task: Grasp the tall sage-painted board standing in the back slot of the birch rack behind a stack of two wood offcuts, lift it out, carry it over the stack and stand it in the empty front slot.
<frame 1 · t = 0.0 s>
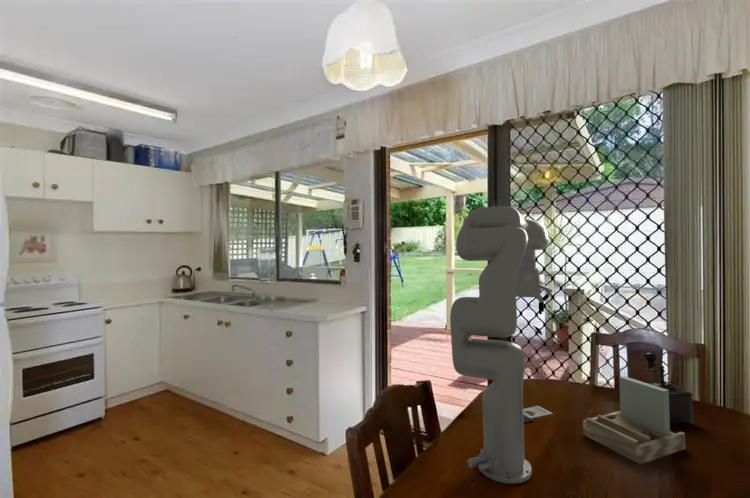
hand: (525, 312, 133), 31 cm above the table, tool pointing down, fingers open, 9 cm apart
chocolate bar: (523, 417, 122), on the table
offcut low: (632, 442, 102), point 1 cm above the table, touching offcut top, rack
sheet: (644, 437, 104), point 1 cm above the table, touching rack
rack: (632, 445, 102), on the table
dark brown coffee grinder: (657, 415, 120), on the table
offcut top: (629, 431, 103), point 3 cm above the table, touching offcut low
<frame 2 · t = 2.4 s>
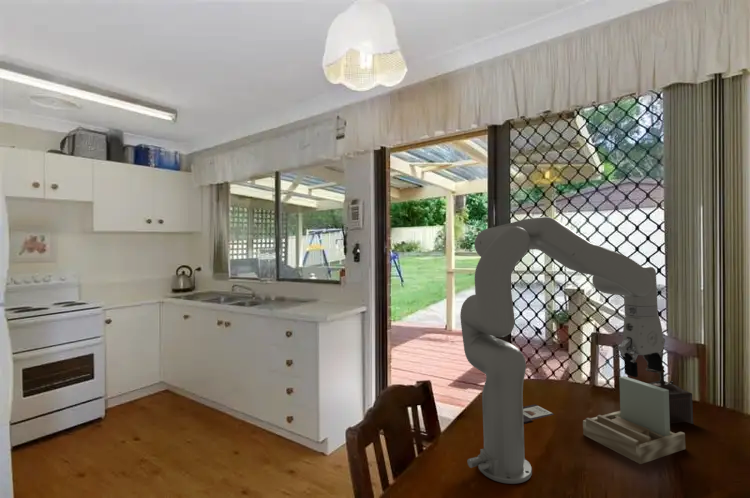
hand: (643, 372, 104), 19 cm above the table, tool pointing down, fingers open, 9 cm apart
nothing on the table moved.
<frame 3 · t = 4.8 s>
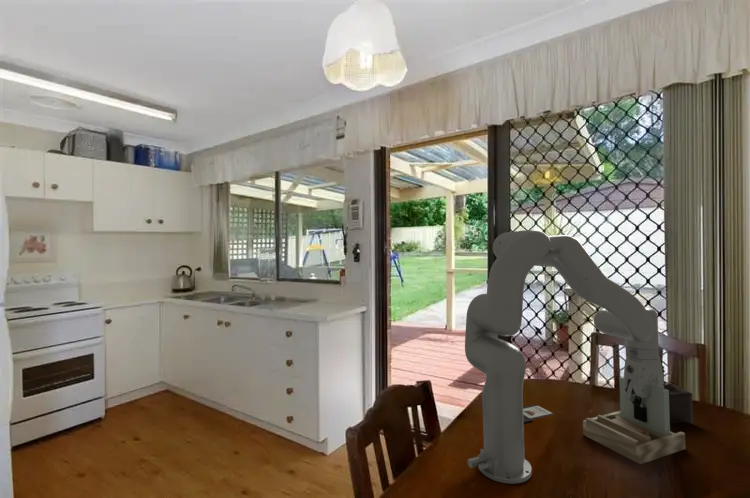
hand: (643, 418, 104), 6 cm above the table, tool pointing down, fingers closed on sheet, 2 cm apart
sheet: (644, 437, 104), point 1 cm above the table, touching gripper, rack
everything else where it was.
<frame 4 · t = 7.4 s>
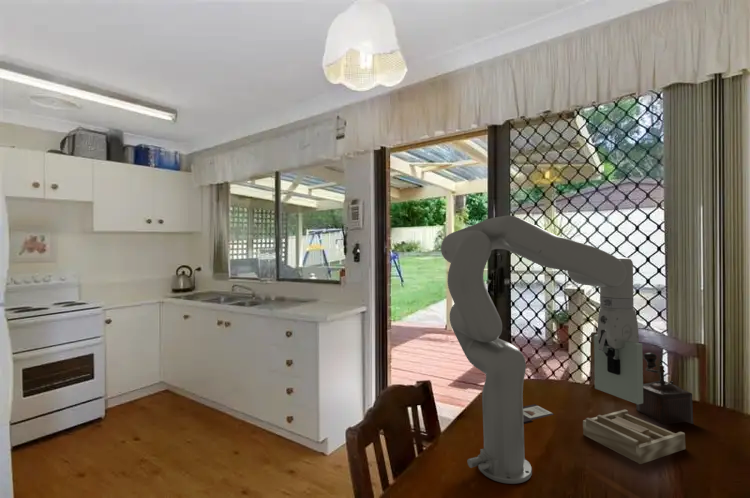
hand: (617, 372, 101), 21 cm above the table, tool pointing down, fingers closed on sheet
sheet: (617, 395, 101), point 14 cm above the table, touching gripper
everything else where it was.
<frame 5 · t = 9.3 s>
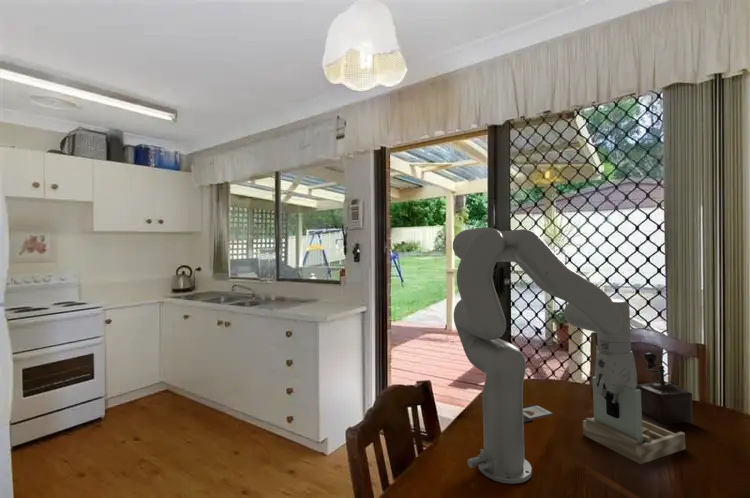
hand: (616, 414, 100), 9 cm above the table, tool pointing down, fingers closed on sheet, 2 cm apart
sheet: (617, 439, 100), point 3 cm above the table, touching gripper
everything else where it was.
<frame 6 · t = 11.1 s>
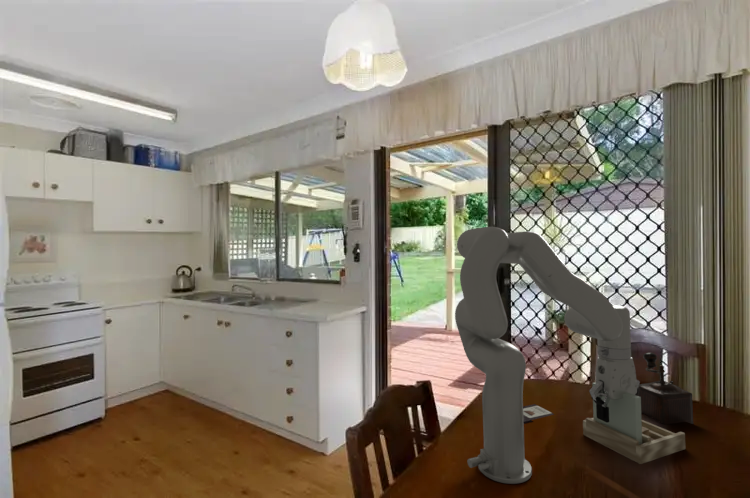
hand: (616, 416, 100), 9 cm above the table, tool pointing down, fingers open, 9 cm apart
sheet: (617, 445, 100), point 1 cm above the table, touching rack
everything else where it was.
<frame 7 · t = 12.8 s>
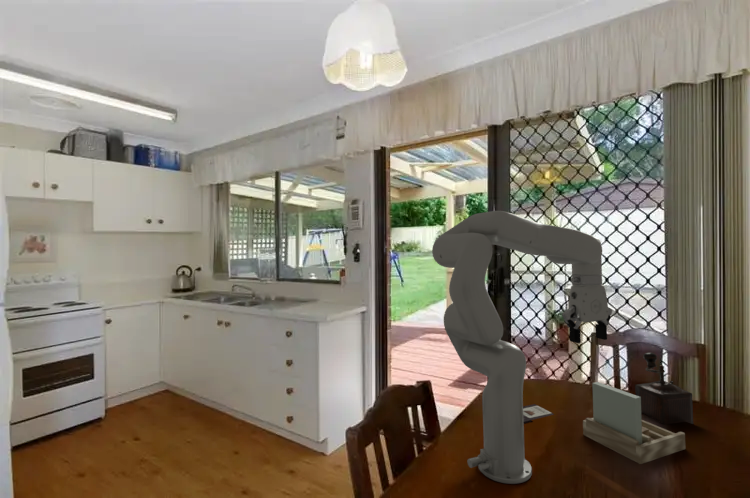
hand: (588, 340, 108), 27 cm above the table, tool pointing down, fingers open, 9 cm apart
nothing on the table moved.
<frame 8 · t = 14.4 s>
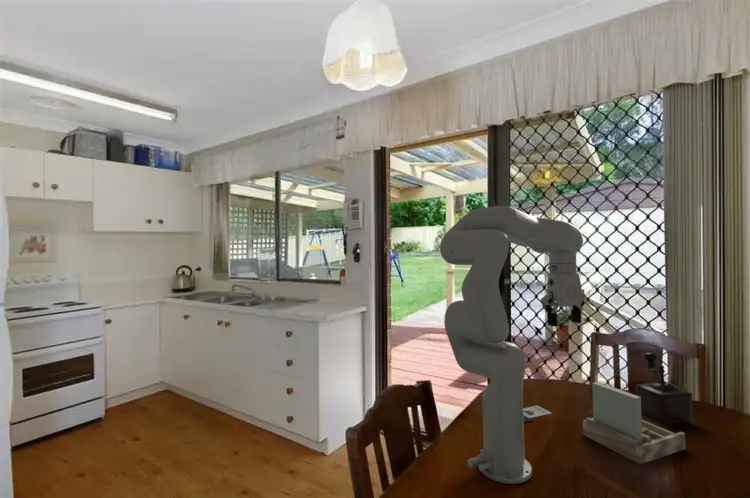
hand: (564, 324, 117), 30 cm above the table, tool pointing down, fingers open, 9 cm apart
nothing on the table moved.
at the end: sheet 0.0 cm from the target spot on the rack, point 1.0 cm above the rack's base; sheet tilted 0°; the gripper is holding nothing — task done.
